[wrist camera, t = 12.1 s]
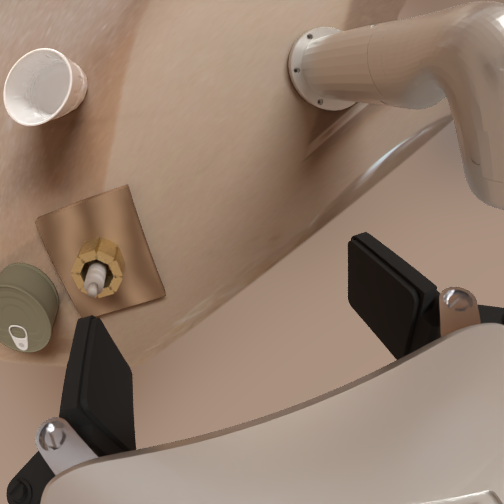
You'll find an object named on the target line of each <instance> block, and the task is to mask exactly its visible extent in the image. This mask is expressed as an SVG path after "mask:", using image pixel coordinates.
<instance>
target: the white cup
mask: <svg viewBox="0 0 504 504" xmlns="http://www.w3.org/2000/svg"><path fill="white" fill-rule="evenodd" d="M87 88H88V86H87V77H86V75H85V74H84V72H83V71H82V69H81V68H80V67H79V66H78V65H77V64H76V63H74V62H73V61H72V60H70V59H69V58H67V57H66V56H64V55H63V54H61V53H60V52H58V51H56V50H53V49H49V48H42V49H37V50H34V51H31V52H29V53H27V54H26V55H24V56H23V57H22V58H20V59H19V60H18V61H17V62H16V63H15V65H14V66H13V67H12V69H11V70H10V72H9V74H8V76H7V79H6V82H5V85H4V92H3V98H4V104H5V108H6V110H7V112H8V114H9V115H10V117H11V118H12V119H13V120H14V121H16V122H17V123H19V124H22V125H25V126H37V125H40V124H43V123H46V122H48V121H51V120H54V119H57V118H59V117H61V116H64V115H66V114H67V113H69V112H71V111H73V110H75V109H76V108H77V107H78V106H79V105H80V103H81V102H82V101H83V100H84V98H85V95H86V91H87Z"/></svg>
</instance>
